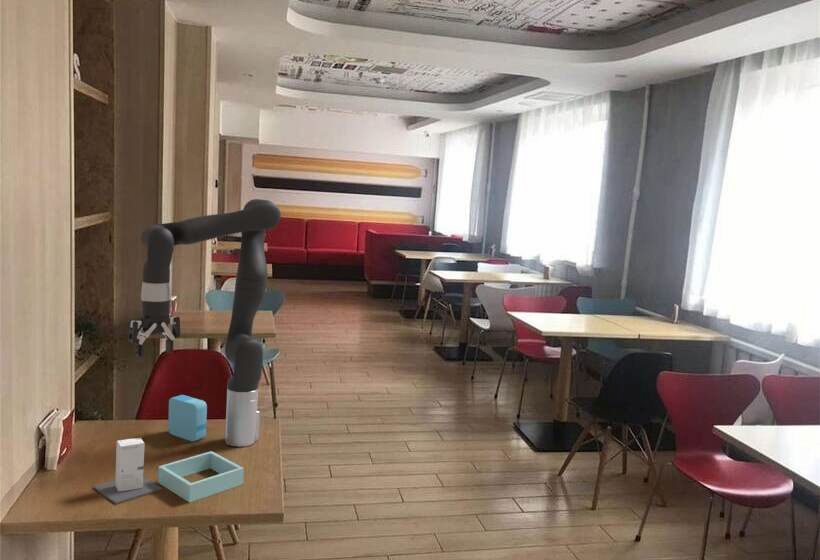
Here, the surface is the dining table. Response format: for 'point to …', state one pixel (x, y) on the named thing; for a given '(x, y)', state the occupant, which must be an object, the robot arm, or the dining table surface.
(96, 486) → the mat
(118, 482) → the skincare box
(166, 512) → the dining table surface
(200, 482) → the bin
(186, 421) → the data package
